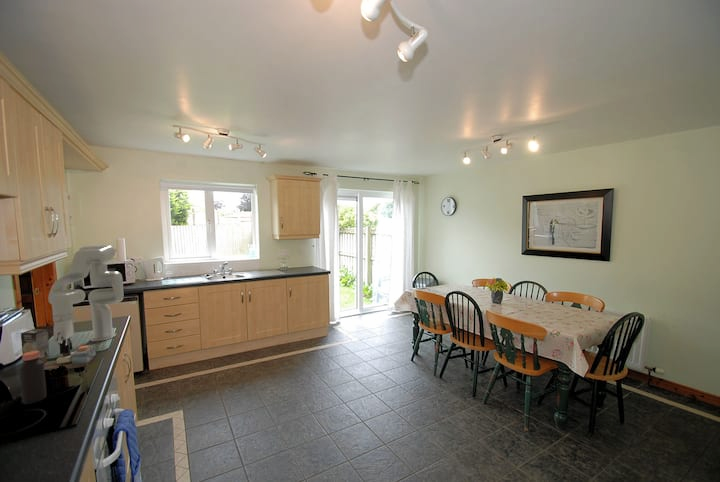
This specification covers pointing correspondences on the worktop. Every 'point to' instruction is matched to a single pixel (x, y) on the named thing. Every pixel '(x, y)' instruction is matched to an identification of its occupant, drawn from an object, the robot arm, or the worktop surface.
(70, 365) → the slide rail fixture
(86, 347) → the button
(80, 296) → the robot arm
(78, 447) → the worktop surface
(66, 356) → the cream plate with knob
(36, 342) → the coffee box
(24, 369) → the bottle
